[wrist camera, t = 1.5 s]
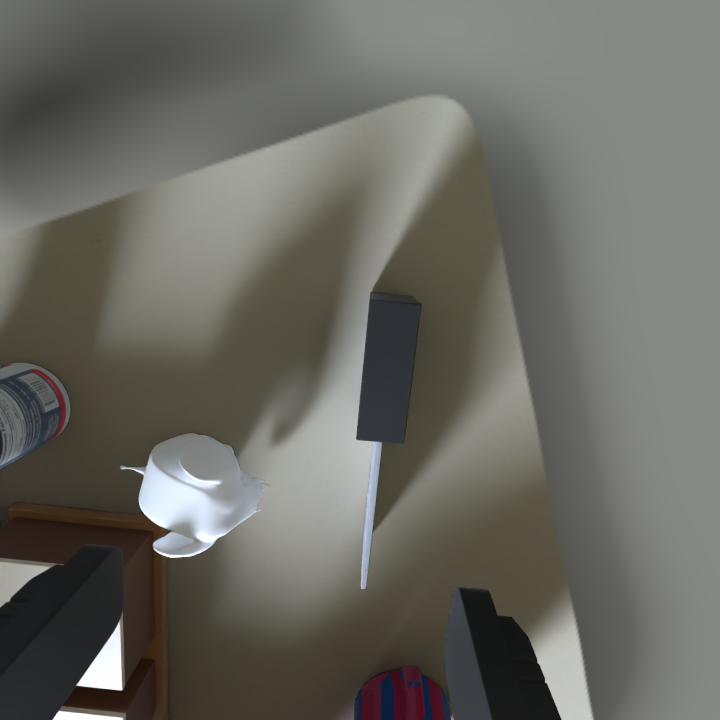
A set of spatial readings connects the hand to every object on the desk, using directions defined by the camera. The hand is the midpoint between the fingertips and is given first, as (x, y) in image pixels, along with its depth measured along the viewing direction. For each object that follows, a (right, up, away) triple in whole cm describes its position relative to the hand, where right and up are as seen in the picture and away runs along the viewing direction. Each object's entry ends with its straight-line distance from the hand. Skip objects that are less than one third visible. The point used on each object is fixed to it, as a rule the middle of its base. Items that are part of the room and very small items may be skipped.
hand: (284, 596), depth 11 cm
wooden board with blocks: (-17, -13, +20) cm, 29 cm away
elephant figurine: (-7, -1, +18) cm, 19 cm away
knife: (+3, +2, +16) cm, 17 cm away
